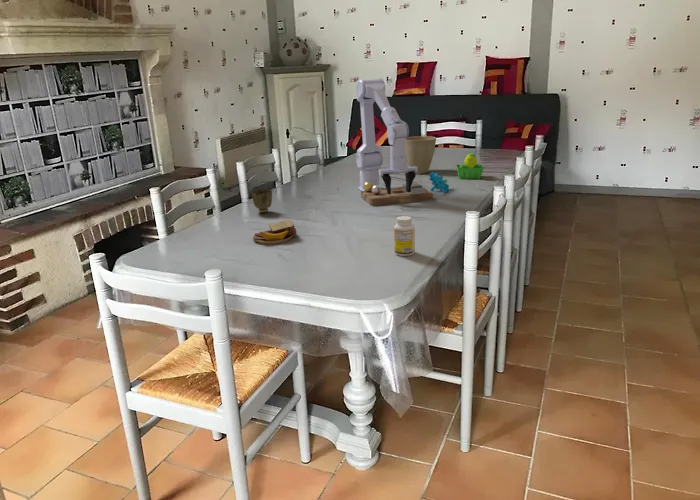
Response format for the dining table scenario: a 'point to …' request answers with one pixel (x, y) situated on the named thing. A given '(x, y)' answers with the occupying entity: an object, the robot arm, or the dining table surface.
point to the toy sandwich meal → (276, 233)
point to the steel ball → (376, 189)
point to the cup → (262, 200)
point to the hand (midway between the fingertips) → (398, 192)
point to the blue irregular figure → (438, 182)
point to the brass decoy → (368, 186)
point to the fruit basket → (470, 168)
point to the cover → (415, 189)
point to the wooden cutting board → (394, 196)
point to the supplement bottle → (404, 236)
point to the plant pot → (420, 152)
